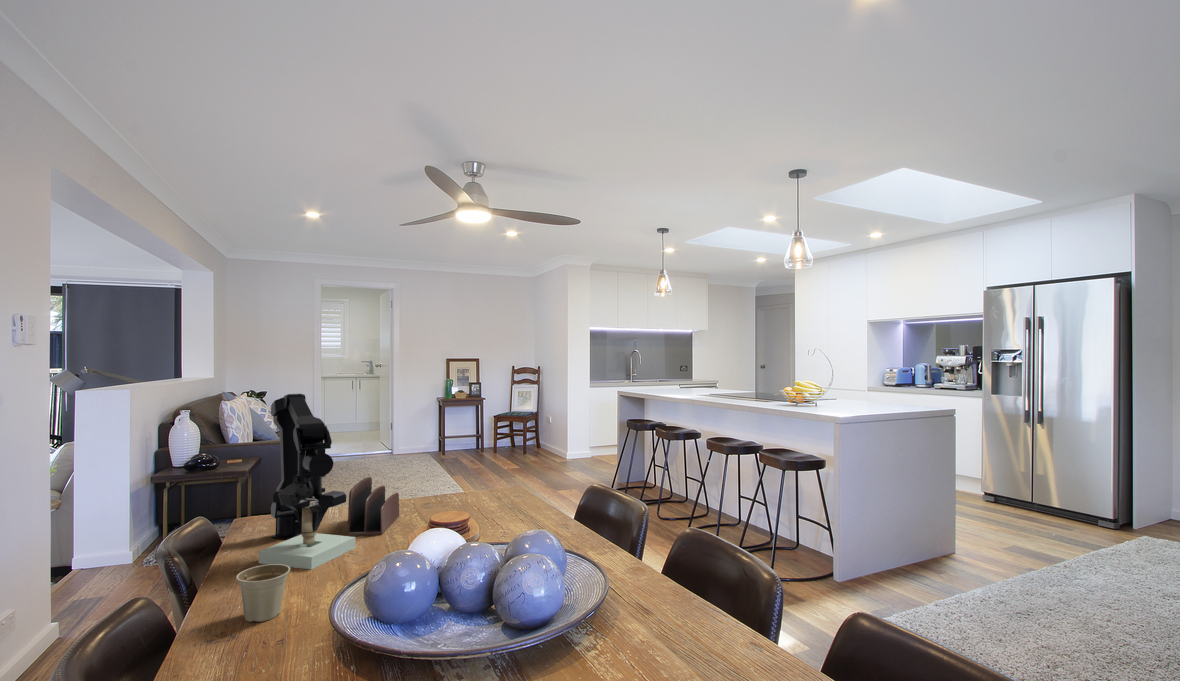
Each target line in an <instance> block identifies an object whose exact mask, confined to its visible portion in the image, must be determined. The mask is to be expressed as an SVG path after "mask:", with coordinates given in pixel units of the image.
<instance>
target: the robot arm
mask: <svg viewBox="0 0 1180 681" xmlns="http://www.w3.org/2000/svg"><path fill="white" fill-rule="evenodd" d="M306 399H307V398H306V395H305V394H304V393H287V394H285V395H284V396H282V397H280V398H277V399H276V400H274V401H273V402H272V404H271V405H270V415H271V417H272V422H273V423H274V425H275V426H276V428H277V429H278V430H279V441H280V442H279V443H280V448H279V449H280V475H281V476H280V477H281V478H280V482H279V484H278V485H277V487H276V489H275V492H274V493H273V495H272V503H271V506H270V515H271V517H272V518H273V519H275V533H274V534H272V535H271V536H270V537H271V538H272V539H279V540H280V539H282V540H288V539H291V538H293V537H296V536H299V535H301V534H302V508H304V507H309V506H310V507H309V509H310V510H311V511H312V527H313V531H316V532H317V531H318V529H319V527H320V525H321V523H322V521H323V519H324V518H325V516H326V515H325V514H326V513H327V511H328V510H329V508H333V507H336V506H339V505H341V504H344V503H347V493H345V492H344V491H337V490H331V491H329V492H326V487H323V486H322V485H323V478H324V477H326V475H328V474H329V473H331V471H332V470H333V467H334V460H333V458H332V456H331V455H329V454H327V453H326V450H327V449H332V443H333V440H332V437H331V434H330V431H329V429H328V426H327V425H326V424H325V422H324V421H323V420H322V418H318V417H316V416H314V414H313V413H312V410H311V409H310V407H309V405H308V403H307V400H306ZM325 492H326V493H325ZM311 502H314V504H313V505H310V504H311Z"/></svg>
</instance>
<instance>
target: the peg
mask: <svg viewBox="0 0 1180 681" xmlns="http://www.w3.org/2000/svg"><path fill="white" fill-rule="evenodd" d="M310 506H311V505H310ZM310 506H309V507H310ZM309 507H304V508H302V537H303V544H312V543H314V542H315V535H316V533H317V530H316V531H313V527H312V511H311V510H310V509H309Z"/></svg>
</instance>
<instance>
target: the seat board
mask: <svg viewBox="0 0 1180 681" xmlns="http://www.w3.org/2000/svg"><path fill="white" fill-rule="evenodd" d="M355 549H356V536H348V535H337V534H328V533H318V532H316V535H315V542H314V543H312V544H303V537H302V534H301V535H299V536H296V537H293V538H291V539H285V540H283V541H281V542H279V543H276V544H274V545H271V546H269V547H266V548H263V549H261V550H258V564H261V565H269V564H283V565H287V566H289V567H290V568H294V569H295V568H296V569H303V570H304V569H305V570H314V569H315V568H318V567H320V566H321V565H324V564H326V563H328V562H330V561H332V560H334V559H336V558H338V557H340V556H342V555H345V554H347V553H349V552H350V550H351V551H353V550H355ZM348 551H349V552H348ZM346 552H347V553H346Z"/></svg>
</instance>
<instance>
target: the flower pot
mask: <svg viewBox="0 0 1180 681" xmlns="http://www.w3.org/2000/svg"><path fill="white" fill-rule="evenodd" d="M290 572H291V567H289V566H287V565H283V564H261V565H256V566H253V567H249V568H247V569H244V570H242V571H240V572H239V573H237V575H236V577H235V579H236V581H237V582H238V586H239V587H240V591H241V592H240V593H241V600H242V606H243V607H242V608H243V615H244V620H245V621H246V622H249V623H252V622H258V623H259V622H260V623H261V622H266V621H269V620H272V619H274V618H276V617H277V616H278V615H280V613H281V611H282V603H283V598H284V591H285V587H286V581H287V579H288V575H289V573H290Z"/></svg>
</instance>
